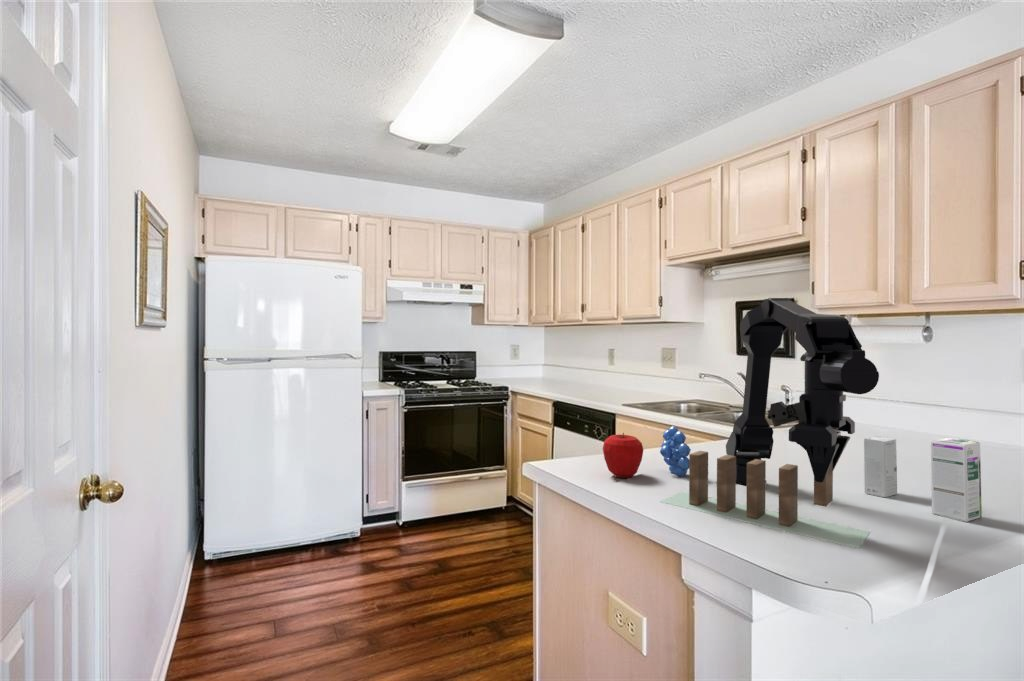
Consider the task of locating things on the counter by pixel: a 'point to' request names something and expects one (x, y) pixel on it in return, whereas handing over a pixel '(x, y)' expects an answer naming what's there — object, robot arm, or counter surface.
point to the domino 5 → (824, 489)
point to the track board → (771, 520)
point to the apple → (623, 455)
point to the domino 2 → (726, 483)
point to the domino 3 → (756, 488)
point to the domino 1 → (698, 478)
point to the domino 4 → (788, 495)
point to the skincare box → (880, 466)
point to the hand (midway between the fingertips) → (823, 479)
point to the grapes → (675, 451)
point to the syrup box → (956, 479)
